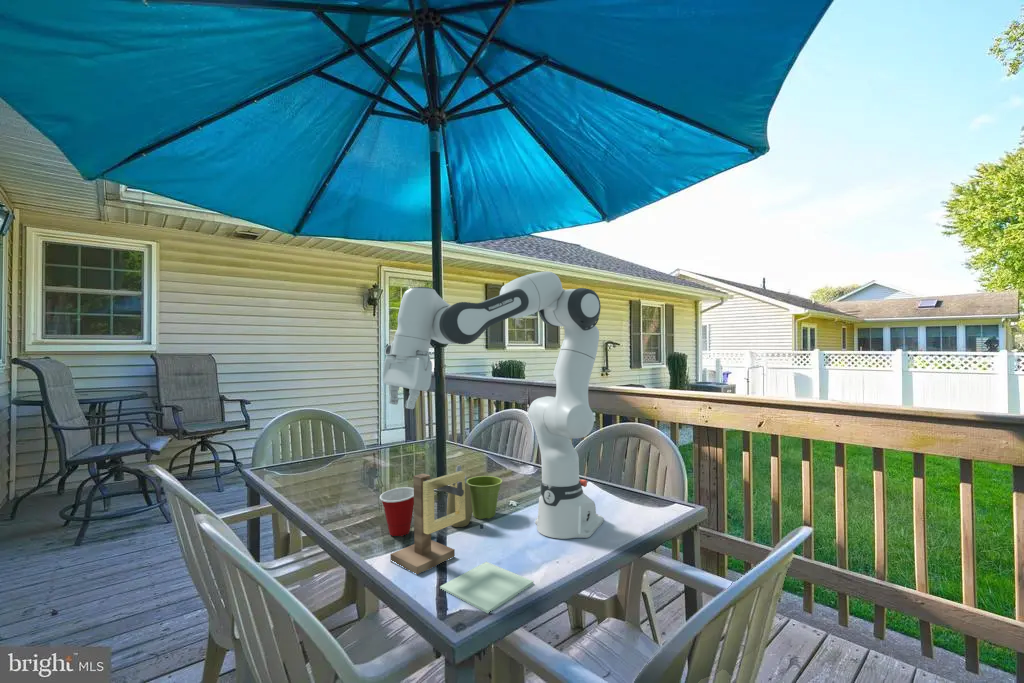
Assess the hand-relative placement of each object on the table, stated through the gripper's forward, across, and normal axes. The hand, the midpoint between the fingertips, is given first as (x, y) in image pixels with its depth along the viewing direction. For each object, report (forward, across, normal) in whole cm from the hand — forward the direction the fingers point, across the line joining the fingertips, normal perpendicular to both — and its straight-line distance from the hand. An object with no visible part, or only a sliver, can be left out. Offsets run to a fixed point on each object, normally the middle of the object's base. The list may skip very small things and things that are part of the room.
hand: (401, 406), depth 109 cm
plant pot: (+34, +18, -43) cm, 58 cm away
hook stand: (+38, -2, -15) cm, 41 cm away
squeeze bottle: (+35, +16, -34) cm, 52 cm away
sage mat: (+37, -19, -19) cm, 46 cm away
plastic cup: (+39, +22, -16) cm, 48 cm away
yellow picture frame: (+27, -6, -14) cm, 31 cm away
